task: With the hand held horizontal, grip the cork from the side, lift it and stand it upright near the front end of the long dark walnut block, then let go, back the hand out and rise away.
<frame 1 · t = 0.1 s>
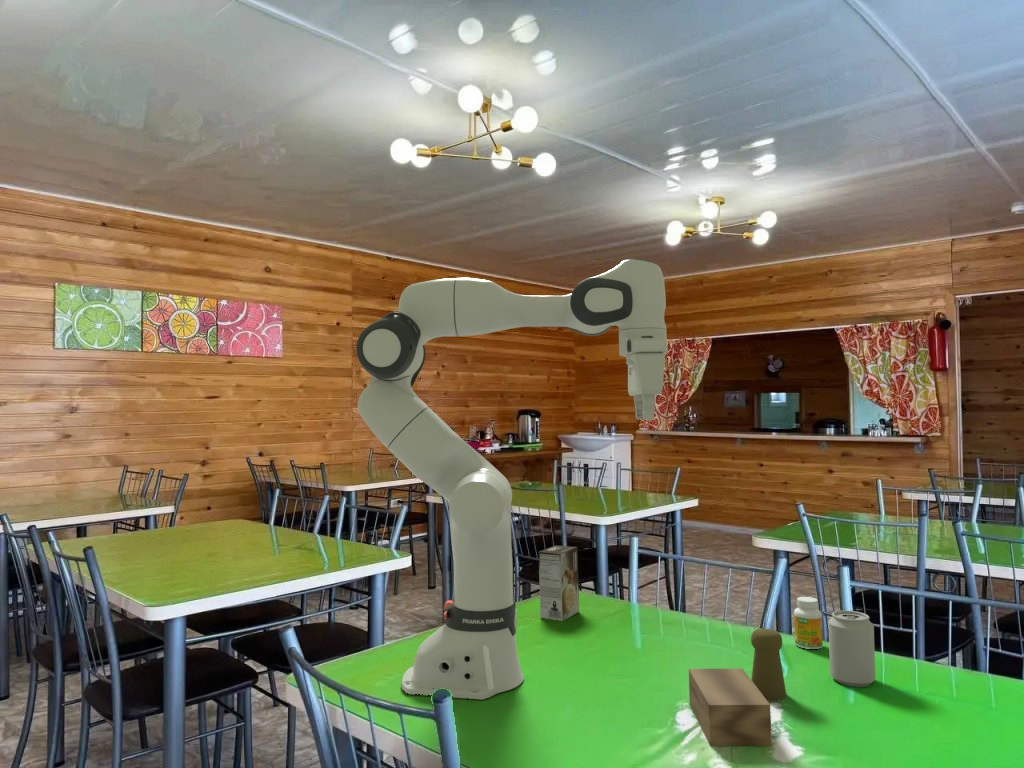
hand: (644, 419, 137), 48 cm above the table, tool pointing down, fingers open, 8 cm apart
walnut block: (727, 723, 116), on the table
supplement bottle: (808, 647, 152), on the table
can: (852, 681, 133), on the table
coffee box: (559, 616, 178), on the table
cork: (768, 695, 128), on the table
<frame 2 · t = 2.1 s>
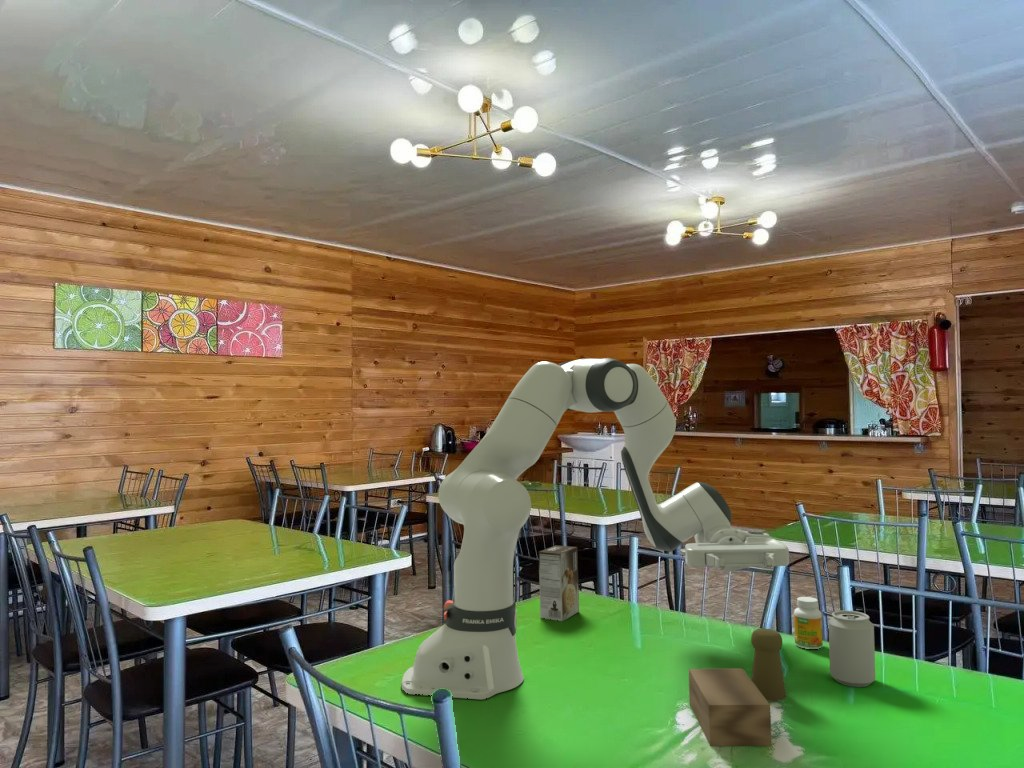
hand: (745, 563, 140), 20 cm above the table, tool horizontal, fingers open, 8 cm apart
nothing on the table moved.
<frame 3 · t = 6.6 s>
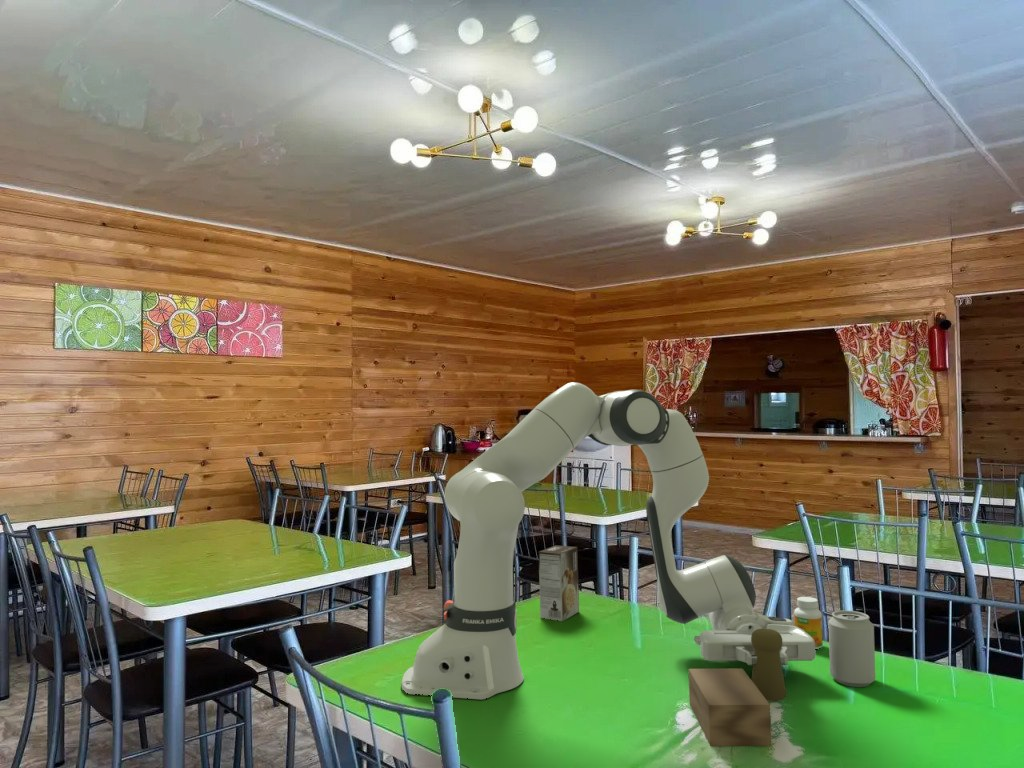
hand: (768, 660, 127), 6 cm above the table, tool horizontal, fingers closed on cork, 4 cm apart
cork: (768, 695, 128), on the table, touching gripper
everything else where it was.
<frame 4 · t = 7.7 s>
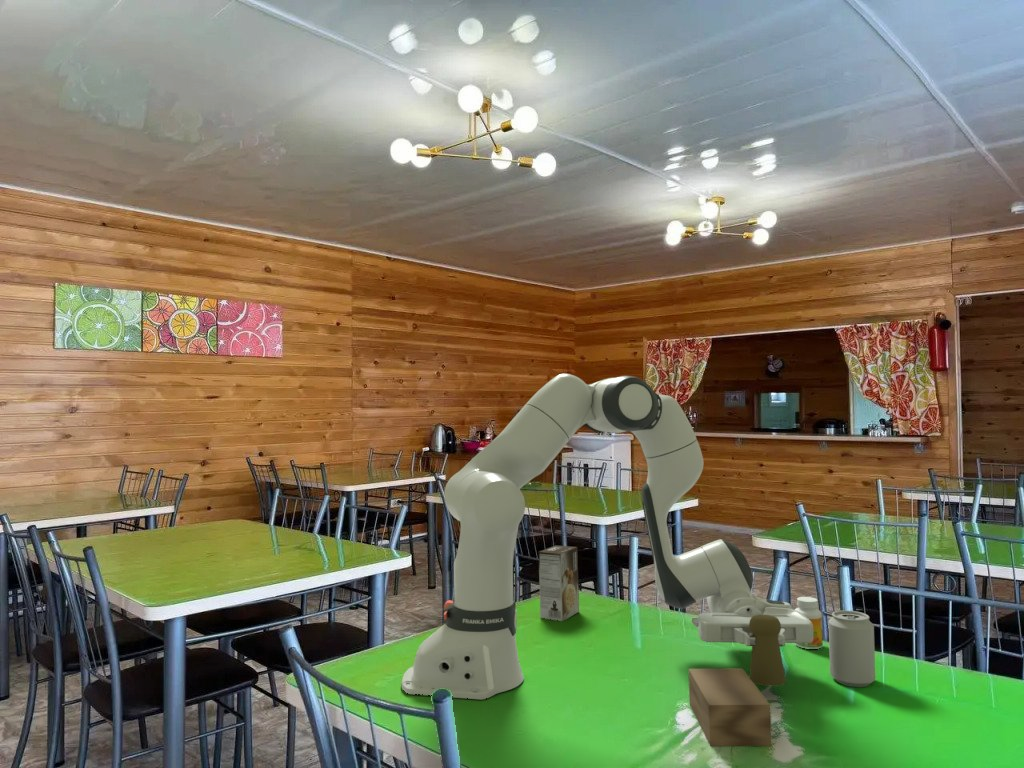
hand: (766, 641, 127), 9 cm above the table, tool horizontal, fingers closed on cork, 4 cm apart
cork: (767, 681, 127), point 2 cm above the table, touching gripper
everything else where it was.
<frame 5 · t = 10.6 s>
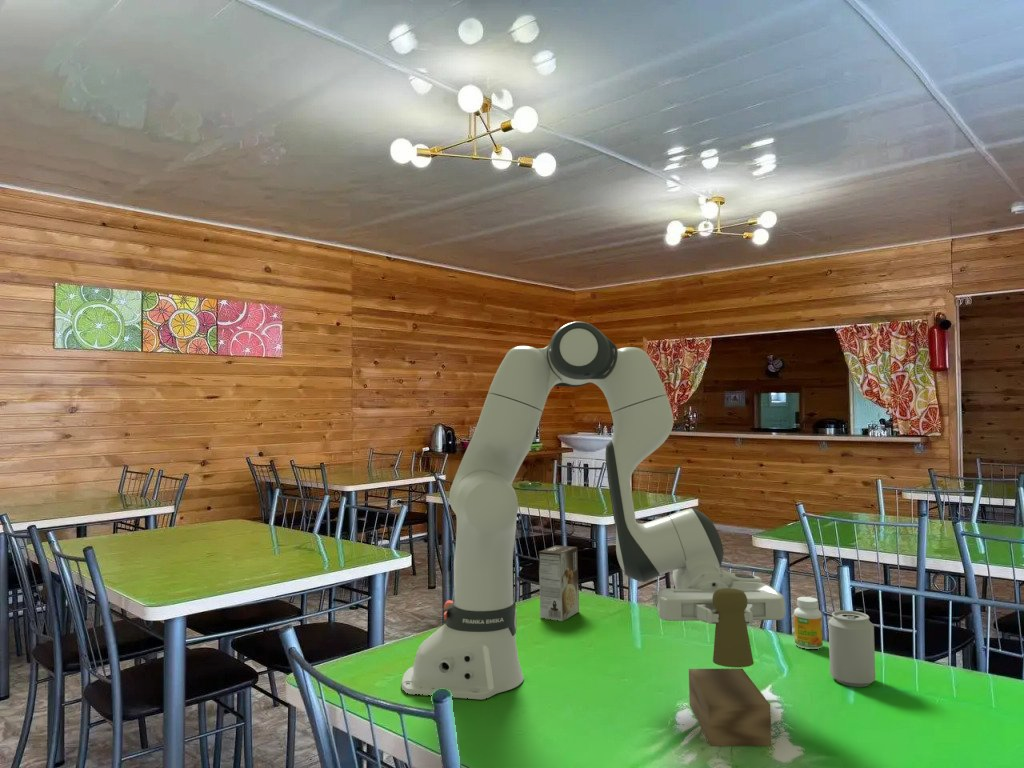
hand: (730, 618, 113), 18 cm above the table, tool horizontal, fingers closed on cork, 4 cm apart
cork: (733, 663, 113), point 11 cm above the table, touching gripper
everything else where it was.
when the fingers open (13 cm above the table, at t = 11.9 s): cork moves 2 cm, resting on walnut block.
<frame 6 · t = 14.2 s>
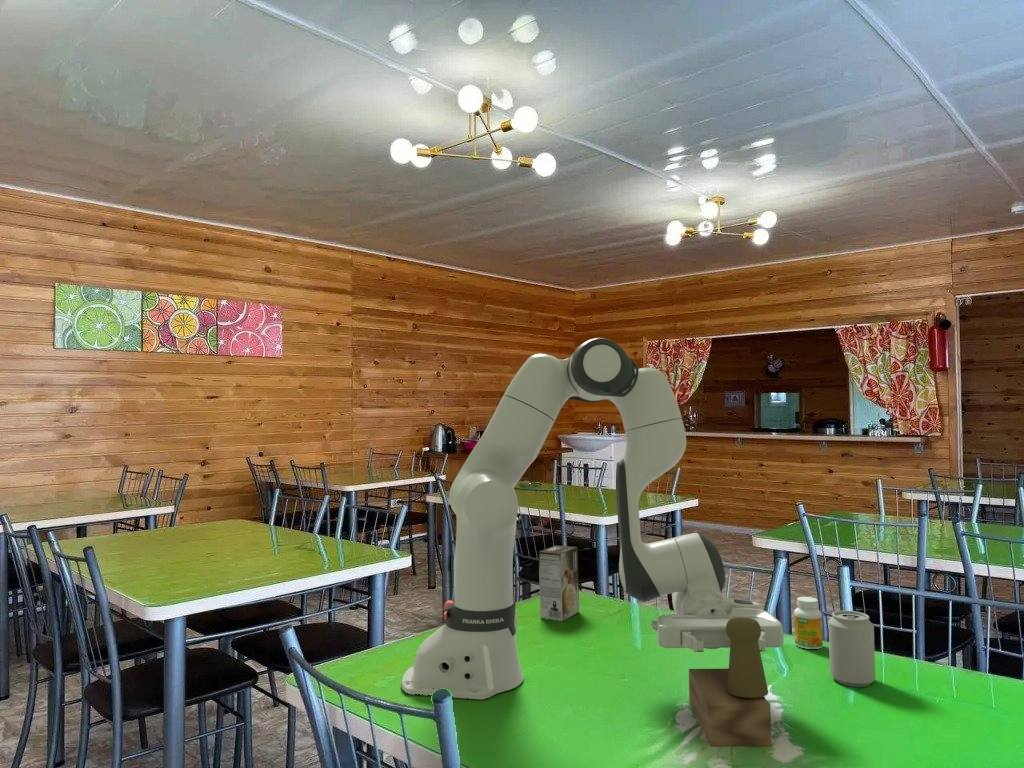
hand: (729, 646, 114), 13 cm above the table, tool horizontal, fingers open, 8 cm apart
cork: (747, 693, 113), point 6 cm above the table, touching gripper, walnut block
everything else where it was.
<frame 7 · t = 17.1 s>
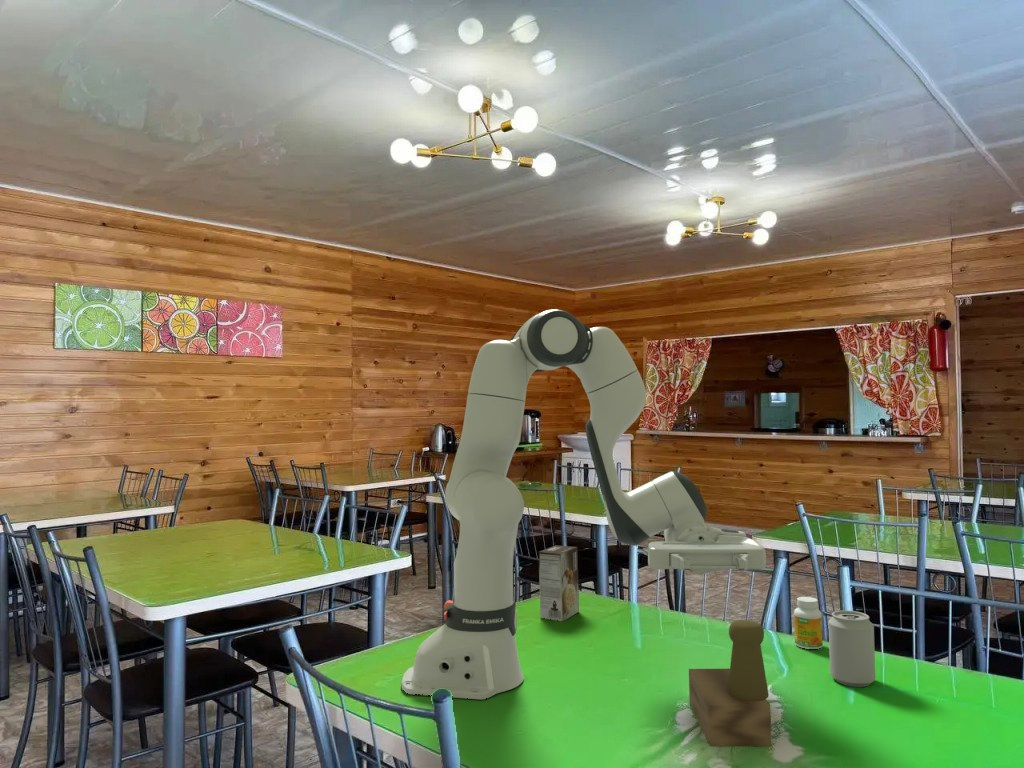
hand: (714, 565, 122), 24 cm above the table, tool horizontal, fingers open, 8 cm apart
cork: (748, 694, 113), point 6 cm above the table, touching walnut block
everything else where it was.
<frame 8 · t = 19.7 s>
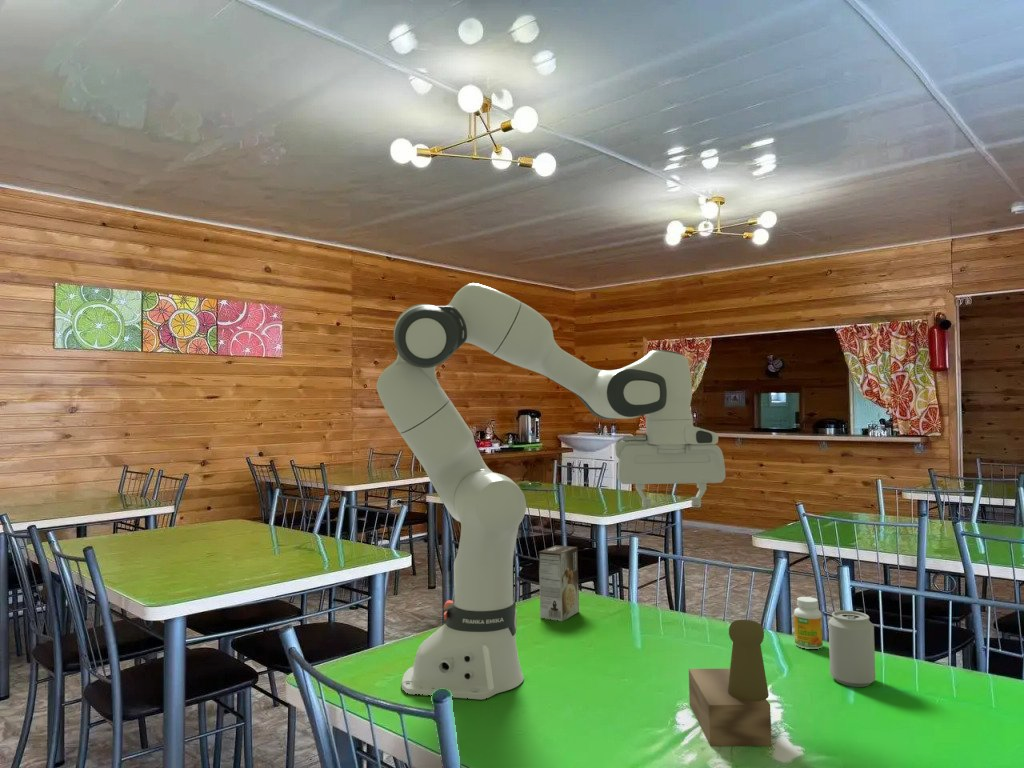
hand: (671, 507, 140), 31 cm above the table, tool pointing down, fingers open, 8 cm apart
nothing on the table moved.
at the end: cork inside the target area on the walnut block (4.1 cm from its centre), point 5.8 cm above the walnut block's base; cork tilted 0°; the gripper is holding nothing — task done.
